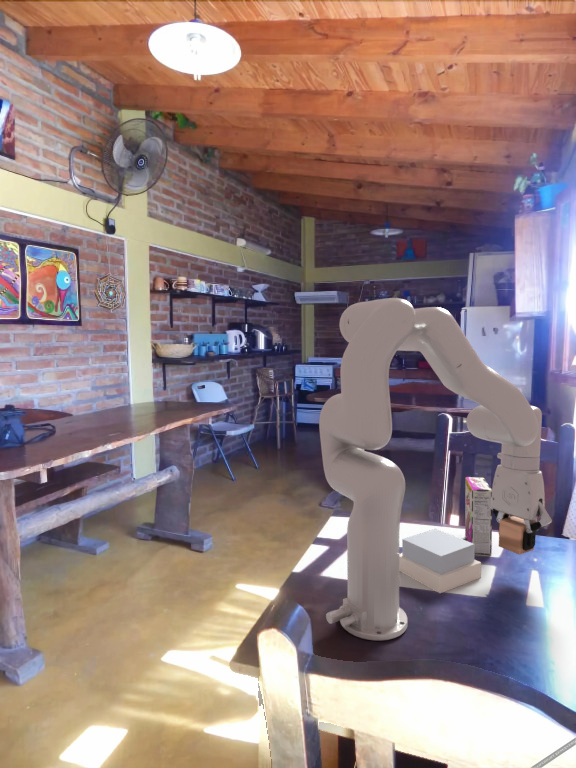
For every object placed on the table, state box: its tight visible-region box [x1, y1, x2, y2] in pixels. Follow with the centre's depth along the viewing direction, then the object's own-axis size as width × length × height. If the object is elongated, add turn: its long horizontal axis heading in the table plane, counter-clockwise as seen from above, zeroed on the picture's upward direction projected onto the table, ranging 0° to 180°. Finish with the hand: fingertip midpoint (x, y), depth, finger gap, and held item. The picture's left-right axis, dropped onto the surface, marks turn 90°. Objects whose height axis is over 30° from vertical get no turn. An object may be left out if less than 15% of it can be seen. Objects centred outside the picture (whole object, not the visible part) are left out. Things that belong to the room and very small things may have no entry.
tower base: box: [399, 552, 482, 594], centre depth 110 cm, size 13×13×4 cm
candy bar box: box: [464, 476, 493, 556], centre depth 124 cm, size 11×5×16 cm, turn 168°
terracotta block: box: [498, 515, 535, 555], centre depth 107 cm, size 5×5×6 cm
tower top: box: [401, 528, 475, 575], centre depth 110 cm, size 11×11×4 cm
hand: (516, 543), depth 107 cm, fingers closed on terracotta block, 4 cm apart
